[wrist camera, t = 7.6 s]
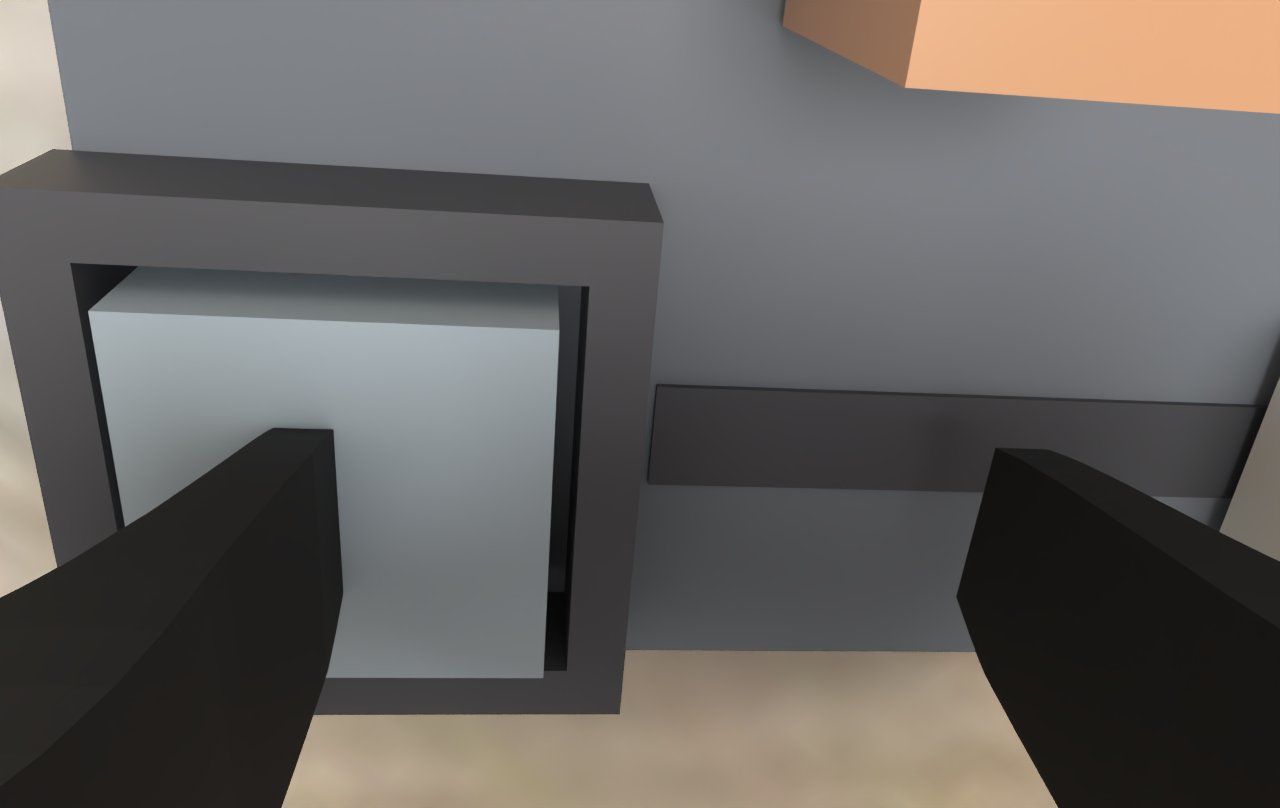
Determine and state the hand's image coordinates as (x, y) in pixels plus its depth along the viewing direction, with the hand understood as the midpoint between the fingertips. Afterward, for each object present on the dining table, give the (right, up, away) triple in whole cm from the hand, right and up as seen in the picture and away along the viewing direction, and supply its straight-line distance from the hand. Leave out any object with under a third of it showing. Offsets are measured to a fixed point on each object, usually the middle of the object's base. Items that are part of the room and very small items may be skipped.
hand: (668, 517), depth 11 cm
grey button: (-4, +1, +1) cm, 4 cm away
